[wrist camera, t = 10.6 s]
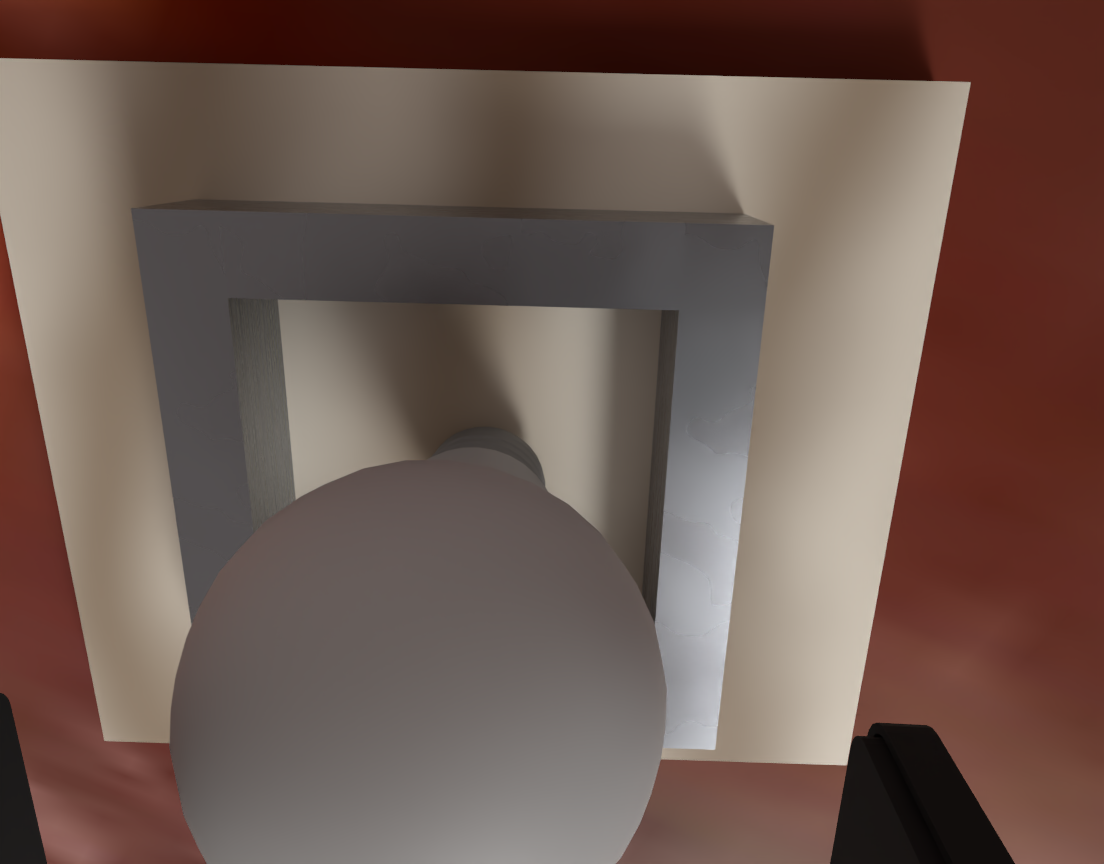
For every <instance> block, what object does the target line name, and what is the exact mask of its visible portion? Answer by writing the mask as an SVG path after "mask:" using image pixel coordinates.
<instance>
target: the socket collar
mask: <svg viewBox="0 0 1104 864" xmlns="http://www.w3.org/2000/svg"><path fill="white" fill-rule="evenodd" d="M131 213H132V220H133V227H134V234H135V240H136V247H137V254H138V261H139V268H140V275H141V282H142V289H143V296H144V302H145V309H146V316H147V323H148V330H149V337H150V344H151V351H152V357H153V364H154V371H155V378H156V385H157V392H158V399H159V406H160V413H161V419H162V426H163V433H164V440H165V447H166V454H167V461H168V468H169V474H170V481H171V488H172V495H173V502H174V509H175V516H176V523H177V530H178V536H179V543H180V550H181V557H182V564H183V571H184V578H185V585H186V591H187V598H188V605H189V612H190V619H191V625H192V623H193V620H194V618H195V616H196V613H197V611H198V608H199V607H200V605H201V603H202V601H203V600H204V598H205V596H206V594H207V593H208V591H209V589H210V587H211V586H212V584H213V582H214V580H215V579H216V577H217V575H218V573H219V572H220V571H221V569H222V568H223V567H224V566H225V565H226V564H227V562H228V561H229V560H230V559H231V558H232V556H233V555H234V554H235V553H236V552H237V551H238V550H239V548H240V547H241V546H242V545H243V544H244V543H245V542H246V541H247V540H248V539H249V538H250V537H251V536H252V535H253V534H254V532H255V531H256V530H257V529H258V528H259V527H260V526H261V525H262V524H263V523H264V522H265V521H266V520H267V519H269V518H270V517H272V516H273V515H275V514H276V513H278V512H279V511H280V510H282V509H283V508H285V507H286V506H288V505H289V504H291V503H292V502H294V501H295V500H296V497H295V486H294V475H293V464H292V453H291V442H290V430H289V419H288V408H287V397H286V386H285V375H284V364H283V352H282V341H281V330H280V319H279V308H278V299H279V300H315V301H352V302H388V303H424V304H461V305H497V306H534V307H570V308H606V309H643V310H662V315H661V329H660V344H659V358H658V372H657V386H656V401H655V415H654V429H653V444H652V458H651V472H650V486H649V501H648V515H647V529H646V543H645V558H644V572H643V586H642V597H643V599H644V601H645V603H646V606H647V608H648V610H649V612H650V614H651V617H652V619H653V621H654V624H655V629H656V634H657V639H658V644H659V649H660V653H661V658H662V664H663V669H664V675H665V681H666V686H667V695H666V724H665V734H664V741H663V748H677V749H708V750H715V746H716V737H717V728H718V719H719V710H720V701H721V693H722V684H723V675H724V666H725V657H726V648H727V640H728V631H729V622H730V613H731V604H732V595H733V586H734V578H735V569H736V560H737V551H738V542H739V533H740V524H741V516H742V507H743V498H744V489H745V480H746V471H747V463H748V454H749V445H750V436H751V427H752V418H753V409H754V401H755V392H756V383H757V374H758V365H759V356H760V347H761V339H762V330H763V321H764V312H765V303H766V294H767V286H768V277H769V268H770V259H771V250H772V241H773V232H774V225H772V224H769V223H767V222H764V221H762V220H759V219H757V218H754V217H752V216H749V215H746V214H740V213H702V212H664V211H626V210H588V209H550V208H512V207H474V206H436V205H398V204H360V203H322V202H284V201H246V200H208V199H192V200H185V201H178V202H171V203H164V204H158V205H151V206H144V207H137V208H131Z"/></svg>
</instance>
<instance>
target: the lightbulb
mask: <svg viewBox="0 0 1104 864" xmlns="http://www.w3.org/2000/svg"><path fill="white" fill-rule="evenodd" d="M666 695H667V686H666V681H665V675H664V669H663V664H662V658H661V653H660V649H659V644H658V639H657V634H656V629H655V624H654V621H653V619H652V617H651V614H650V612H649V610H648V608H647V606H646V603H645V601H644V599H643V597H642V595H641V592H640V590H639V588H638V586H637V584H636V582H635V581H634V579H633V578H632V576H631V575H630V573H629V572H628V570H627V569H626V567H625V565H624V564H623V563H622V561H621V560H620V559H619V557H618V556H617V554H616V553H615V552H614V550H613V549H612V548H611V546H610V545H609V544H608V542H607V541H606V540H605V538H604V537H603V536H602V534H601V533H600V532H599V531H598V530H597V529H596V528H595V527H594V526H592V525H591V524H590V523H589V522H588V521H587V520H586V519H585V518H584V517H582V516H581V515H580V514H579V513H578V512H577V511H576V510H575V509H574V508H572V507H571V506H570V505H569V504H567V503H566V502H564V501H562V500H561V499H559V498H557V497H556V496H554V495H552V494H551V493H549V492H548V491H547V489H546V487H545V479H544V474H543V470H542V466H541V464H540V462H539V459H538V457H537V455H536V454H535V453H534V451H533V450H532V449H531V447H530V446H529V445H528V444H527V443H525V442H524V441H523V440H522V439H521V438H519V437H518V436H516V435H514V434H513V433H511V432H508V431H505V430H503V429H499V428H494V427H474V428H469V429H465V430H463V431H460V432H458V433H456V434H454V435H453V436H451V437H450V438H448V439H447V440H446V441H445V442H444V443H443V444H442V445H441V446H440V447H439V448H438V449H437V451H436V452H435V453H434V454H433V455H432V456H431V457H430V458H429V459H427V460H404V461H399V462H394V463H389V464H384V465H378V466H373V467H368V468H363V469H361V470H358V471H356V472H353V473H351V474H348V475H346V476H344V477H341V478H339V479H336V480H334V481H331V482H329V483H327V484H324V485H322V486H320V487H318V488H316V489H314V490H313V491H311V492H309V493H307V494H305V495H303V496H301V497H300V498H298V499H297V500H295V501H294V502H292V503H291V504H289V505H288V506H286V507H285V508H283V509H282V510H280V511H279V512H278V513H276V514H275V515H273V516H272V517H270V518H269V519H267V520H266V521H265V522H264V523H263V524H262V525H261V526H260V527H259V528H258V529H257V530H256V531H255V532H254V534H253V535H252V536H251V537H250V538H249V539H248V540H247V541H246V542H245V543H244V544H243V545H242V546H241V547H240V548H239V550H238V551H237V552H236V553H235V554H234V555H233V556H232V558H231V559H230V560H229V561H228V562H227V564H226V565H225V566H224V567H223V568H222V569H221V571H220V572H219V573H218V575H217V577H216V579H215V580H214V582H213V584H212V586H211V587H210V589H209V591H208V593H207V594H206V596H205V598H204V600H203V601H202V603H201V605H200V607H199V608H198V611H197V613H196V616H195V618H194V620H193V623H192V625H191V628H190V630H189V633H188V635H187V637H186V641H185V644H184V648H183V651H182V655H181V659H180V662H179V666H178V669H177V673H176V676H175V683H174V690H173V696H172V703H171V712H170V753H171V758H172V762H173V767H174V772H175V777H176V782H177V786H178V791H179V796H180V800H181V805H182V810H183V814H184V817H185V820H186V822H187V824H188V826H189V828H190V830H191V833H192V835H193V837H194V839H195V841H196V844H197V846H198V848H199V850H200V852H201V854H202V855H203V857H204V859H205V861H206V863H207V864H616V863H617V862H618V860H619V859H620V858H621V857H622V855H623V853H624V851H625V850H626V848H627V846H628V844H629V842H630V840H631V839H632V837H633V835H634V833H635V831H636V830H637V828H638V826H639V824H640V822H641V819H642V816H643V814H644V811H645V809H646V806H647V803H648V801H649V798H650V796H651V793H652V789H653V785H654V782H655V778H656V775H657V771H658V767H659V764H660V760H661V756H662V749H663V741H664V734H665V724H666Z"/></svg>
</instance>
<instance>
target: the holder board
mask: <svg viewBox="0 0 1104 864" xmlns="http://www.w3.org/2000/svg"><path fill="white" fill-rule="evenodd" d="M970 83H971V82H944V81H904V80H863V79H823V78H782V77H742V76H701V75H661V74H620V73H580V72H539V71H499V70H458V69H418V68H377V67H336V66H296V65H255V64H215V63H174V62H134V61H93V60H53V59H12V58H0V215H1V220H2V226H3V231H4V236H5V241H6V246H7V251H8V256H9V261H10V266H11V271H12V276H13V281H14V286H15V291H16V296H17V301H18V306H19V311H20V316H21V321H22V327H23V332H24V337H25V342H26V347H27V352H28V357H29V362H30V367H31V372H32V377H33V382H34V387H35V392H36V397H37V402H38V407H39V412H40V417H41V422H42V428H43V433H44V438H45V443H46V448H47V453H48V458H49V463H50V468H51V473H52V478H53V483H54V488H55V493H56V498H57V503H58V508H59V513H60V518H61V523H62V529H63V534H64V539H65V544H66V549H67V554H68V559H69V564H70V569H71V574H72V579H73V584H74V589H75V594H76V599H77V604H78V609H79V614H80V619H81V624H82V630H83V635H84V640H85V645H86V650H87V655H88V660H89V665H90V670H91V675H92V680H93V685H94V690H95V695H96V700H97V705H98V710H99V715H100V720H101V725H102V731H103V736H104V741H123V742H154V743H170V712H171V703H172V696H173V690H174V683H175V676H176V673H177V669H178V666H179V662H180V659H181V655H182V651H183V648H184V644H185V641H186V637H187V635H188V633H189V630H190V628H191V619H190V612H189V605H188V598H187V591H186V585H185V578H184V571H183V564H182V557H181V550H180V543H179V536H178V530H177V523H176V516H175V509H174V502H173V495H172V488H171V481H170V474H169V468H168V461H167V454H166V447H165V440H164V433H163V426H162V419H161V413H160V406H159V399H158V392H157V385H156V378H155V371H154V364H153V357H152V351H151V344H150V337H149V330H148V323H147V316H146V309H145V302H144V296H143V289H142V282H141V275H140V268H139V261H138V254H137V247H136V240H135V234H134V227H133V220H132V213H131V208H137V207H144V206H151V205H158V204H164V203H171V202H178V201H185V200H192V199H208V200H246V201H284V202H322V203H360V204H398V205H436V206H474V207H512V208H550V209H588V210H626V211H664V212H702V213H740V214H746V215H749V216H752V217H754V218H757V219H759V220H762V221H764V222H767V223H769V224H772V225H774V232H773V241H772V250H771V259H770V268H769V277H768V286H767V294H766V303H765V312H764V321H763V330H762V339H761V347H760V356H759V365H758V374H757V383H756V392H755V401H754V409H753V418H752V427H751V436H750V445H749V454H748V463H747V471H746V480H745V489H744V498H743V507H742V516H741V524H740V533H739V542H738V551H737V560H736V569H735V578H734V586H733V595H732V604H731V613H730V622H729V631H728V640H727V648H726V657H725V666H724V675H723V684H722V693H721V701H720V710H719V719H718V728H717V737H716V746H715V750H708V749H677V748H663V749H662V756H661V759H671V760H702V761H732V762H762V763H793V764H823V765H847V760H848V755H849V749H850V744H851V738H852V733H853V727H854V722H855V716H856V711H857V705H858V700H859V694H860V689H861V683H862V678H863V672H864V667H865V661H866V656H867V650H868V645H869V639H870V634H871V628H872V623H873V617H874V612H875V606H876V601H877V595H878V590H879V584H880V579H881V573H882V568H883V562H884V557H885V551H886V546H887V540H888V535H889V529H890V524H891V518H892V513H893V507H894V502H895V496H896V491H897V485H898V480H899V474H900V469H901V463H902V458H903V452H904V447H905V441H906V436H907V430H908V425H909V419H910V414H911V408H912V403H913V397H914V392H915V386H916V381H917V375H918V370H919V364H920V359H921V353H922V348H923V342H924V337H925V331H926V326H927V320H928V315H929V309H930V304H931V298H932V292H933V287H934V281H935V276H936V270H937V265H938V259H939V254H940V248H941V243H942V237H943V232H944V226H945V221H946V215H947V210H948V204H949V199H950V193H951V188H952V182H953V177H954V171H955V166H956V160H957V155H958V149H959V144H960V138H961V133H962V127H963V122H964V116H965V111H966V105H967V100H968V94H969V89H970ZM278 308H279V319H280V330H281V341H282V352H283V364H284V375H285V386H286V397H287V408H288V419H289V430H290V442H291V453H292V464H293V475H294V486H295V497H296V500H297V499H298V498H300V497H301V496H303V495H305V494H307V493H309V492H311V491H313V490H314V489H316V488H318V487H320V486H322V485H324V484H327V483H329V482H331V481H334V480H336V479H339V478H341V477H344V476H346V475H348V474H351V473H353V472H356V471H358V470H361V469H363V468H368V467H373V466H378V465H384V464H389V463H394V462H399V461H404V460H427V459H429V458H430V457H431V456H432V455H433V454H434V453H435V452H436V451H437V449H438V448H439V447H440V446H441V445H442V444H443V443H444V442H445V441H446V440H447V439H448V438H450V437H451V436H453V435H454V434H456V433H458V432H460V431H463V430H465V429H469V428H474V427H494V428H499V429H503V430H505V431H508V432H511V433H513V434H514V435H516V436H518V437H519V438H521V439H522V440H523V441H524V442H525V443H527V444H528V445H529V446H530V447H531V449H532V450H533V451H534V453H535V454H536V455H537V457H538V459H539V462H540V464H541V466H542V470H543V474H544V479H545V487H546V489H547V491H548V492H549V493H551V494H552V495H554V496H556V497H557V498H559V499H561V500H562V501H564V502H566V503H567V504H569V505H570V506H571V507H572V508H574V509H575V510H576V511H577V512H578V513H579V514H580V515H581V516H582V517H584V518H585V519H586V520H587V521H588V522H589V523H590V524H591V525H592V526H594V527H595V528H596V529H597V530H598V531H599V532H600V533H601V534H602V536H603V537H604V538H605V540H606V541H607V542H608V544H609V545H610V546H611V548H612V549H613V550H614V552H615V553H616V554H617V556H618V557H619V559H620V560H621V561H622V563H623V564H624V565H625V567H626V569H627V570H628V572H629V573H630V575H631V576H632V578H633V579H634V581H635V582H636V584H637V586H638V588H639V590H640V592H641V595H642V586H643V572H644V558H645V543H646V529H647V515H648V501H649V486H650V472H651V458H652V444H653V429H654V415H655V401H656V386H657V372H658V358H659V344H660V329H661V315H662V310H643V309H606V308H570V307H534V306H497V305H461V304H424V303H388V302H352V301H315V300H279V299H278Z"/></svg>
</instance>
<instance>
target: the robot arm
mask: <svg viewBox="0 0 1104 864" xmlns="http://www.w3.org/2000/svg"><path fill="white" fill-rule="evenodd" d="M0 864H47V861H46V857H45V853H44V848H43V844H42V840H41V835H40V831H39V827H38V822H37V818H36V814H35V809H34V805H33V800H32V796H31V792H30V787H29V783H28V779H27V774H26V770H25V766H24V761H23V757H22V753H21V748H20V744H19V740H18V735H17V731H16V727H15V722H14V718H13V714H12V709H11V705H10V702H9V700H8V698H7V697H6V696H5V695H4V694H2V693H0ZM830 864H1015V863H1014V861H1013V860H1012V858H1011V856H1010V855H1009V853H1008V851H1007V850H1006V848H1005V846H1004V845H1003V843H1002V841H1001V840H1000V838H999V836H998V835H997V833H996V831H995V830H994V828H993V826H992V825H991V823H990V821H989V820H988V818H987V816H986V815H985V813H984V811H983V810H982V808H981V806H980V805H979V803H978V801H977V800H976V798H975V796H974V794H973V793H972V791H971V789H970V788H969V786H968V784H967V783H966V781H965V779H964V778H963V776H962V774H961V773H960V771H959V769H958V768H957V766H956V764H955V763H954V761H953V759H952V758H951V756H950V754H949V753H948V751H947V749H946V748H945V746H944V744H943V743H942V741H941V739H940V738H939V736H938V734H937V733H936V732H935V731H934V729H933V728H931V727H929V726H927V725H911V724H891V723H875V724H872V726H871V727H870V729H869V732H868V735H867V736H856V737H855V738H854V739H853V741H852V744H851V748H850V754H849V760H848V765H847V771H846V777H845V782H844V788H843V794H842V800H841V805H840V811H839V817H838V822H837V828H836V834H835V839H834V845H833V851H832V856H831V862H830Z"/></svg>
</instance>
